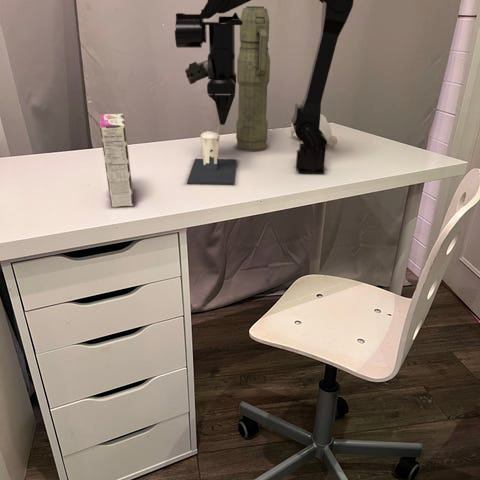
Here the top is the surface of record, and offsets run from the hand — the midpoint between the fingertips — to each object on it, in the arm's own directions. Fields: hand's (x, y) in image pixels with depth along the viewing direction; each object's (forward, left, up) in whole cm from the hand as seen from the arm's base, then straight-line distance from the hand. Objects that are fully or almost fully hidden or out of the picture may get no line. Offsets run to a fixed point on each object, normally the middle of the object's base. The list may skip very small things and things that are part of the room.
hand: (223, 120), depth 126 cm
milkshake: (+3, +3, -11) cm, 12 cm away
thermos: (-7, -22, -12) cm, 26 cm away
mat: (+2, +3, -12) cm, 12 cm away
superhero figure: (-26, -28, -12) cm, 40 cm away
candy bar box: (+21, +24, -12) cm, 34 cm away
